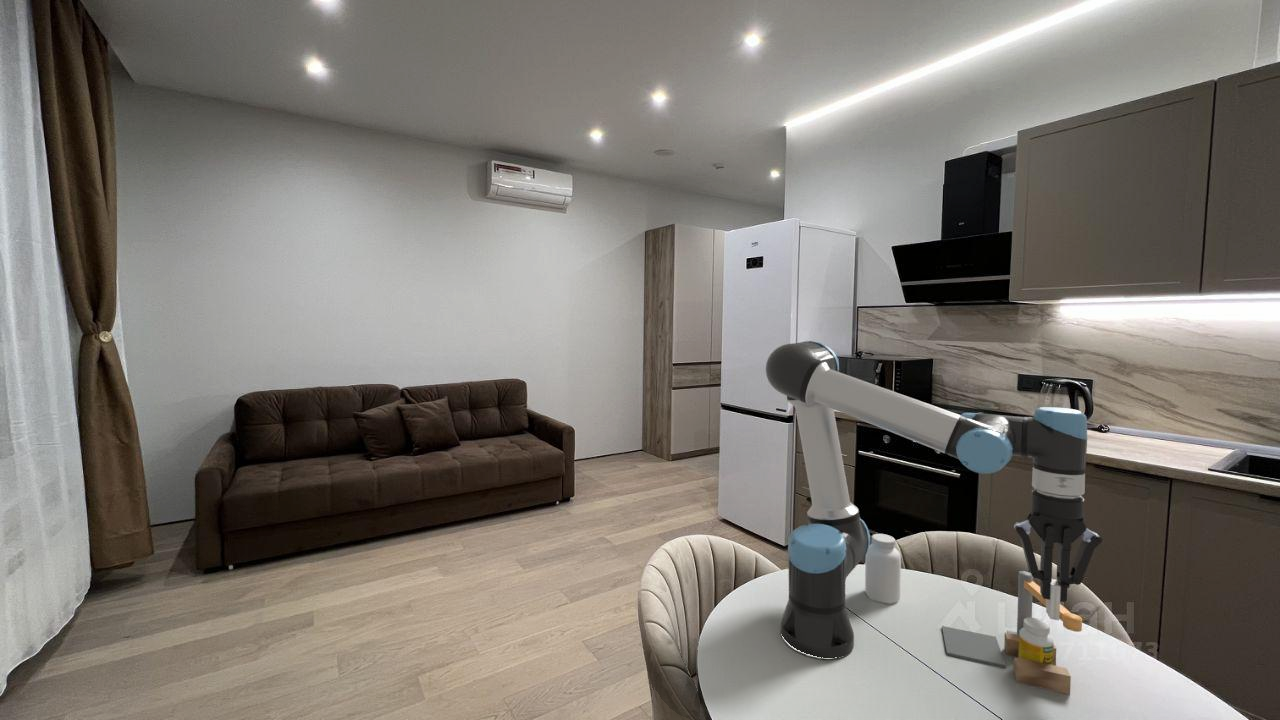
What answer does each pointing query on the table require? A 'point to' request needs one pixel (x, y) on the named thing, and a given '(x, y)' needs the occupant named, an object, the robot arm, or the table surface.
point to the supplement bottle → (1036, 641)
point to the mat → (972, 646)
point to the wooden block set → (1036, 668)
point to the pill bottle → (883, 570)
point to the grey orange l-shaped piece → (1025, 602)
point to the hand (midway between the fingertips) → (1052, 615)
